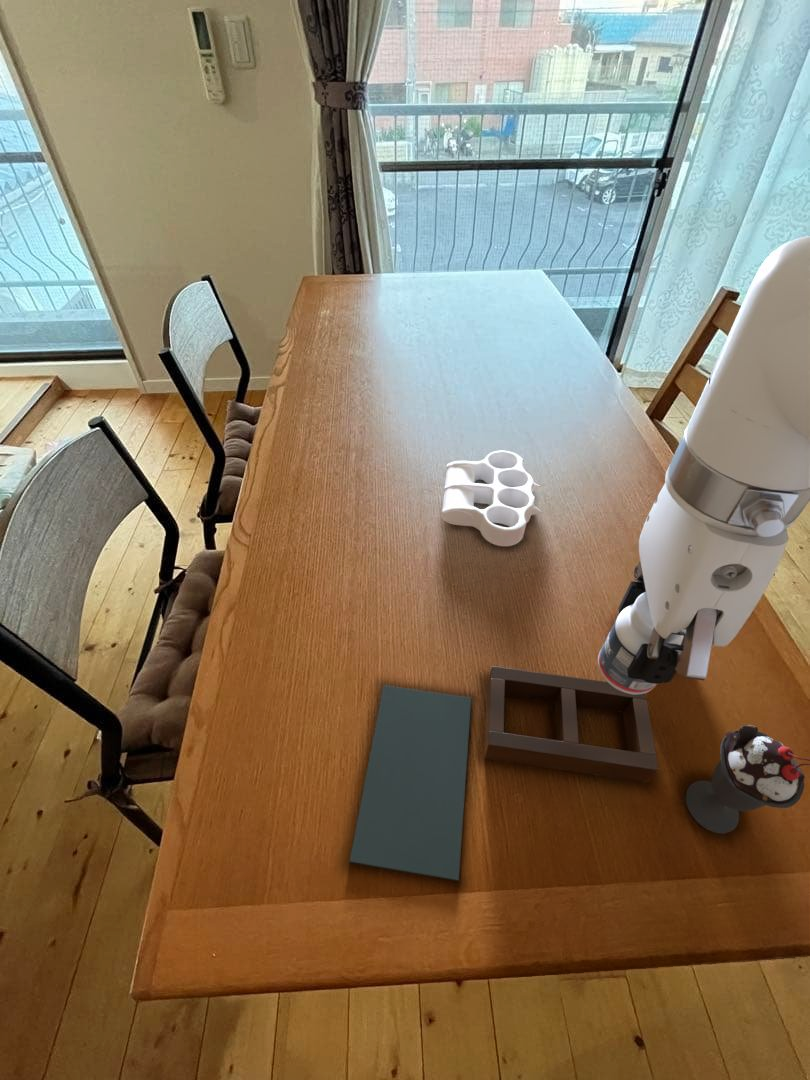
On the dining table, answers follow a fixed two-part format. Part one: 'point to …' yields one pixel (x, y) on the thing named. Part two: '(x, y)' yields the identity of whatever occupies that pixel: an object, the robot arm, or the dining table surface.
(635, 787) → the dining table surface
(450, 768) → the mat
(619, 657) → the pill bottle
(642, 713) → the holder
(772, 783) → the sundae
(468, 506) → the white brass knuckles
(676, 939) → the dining table surface
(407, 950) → the dining table surface
